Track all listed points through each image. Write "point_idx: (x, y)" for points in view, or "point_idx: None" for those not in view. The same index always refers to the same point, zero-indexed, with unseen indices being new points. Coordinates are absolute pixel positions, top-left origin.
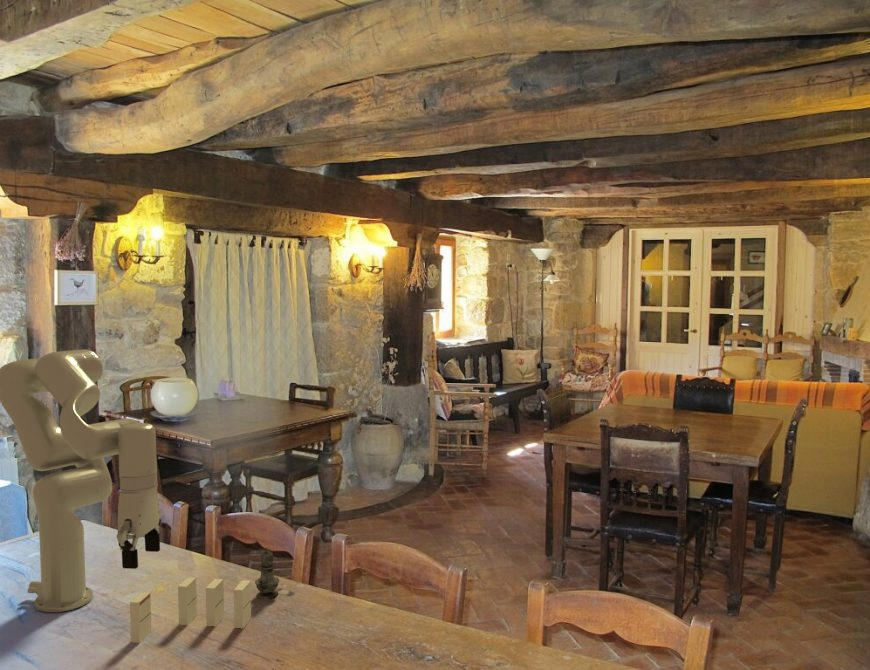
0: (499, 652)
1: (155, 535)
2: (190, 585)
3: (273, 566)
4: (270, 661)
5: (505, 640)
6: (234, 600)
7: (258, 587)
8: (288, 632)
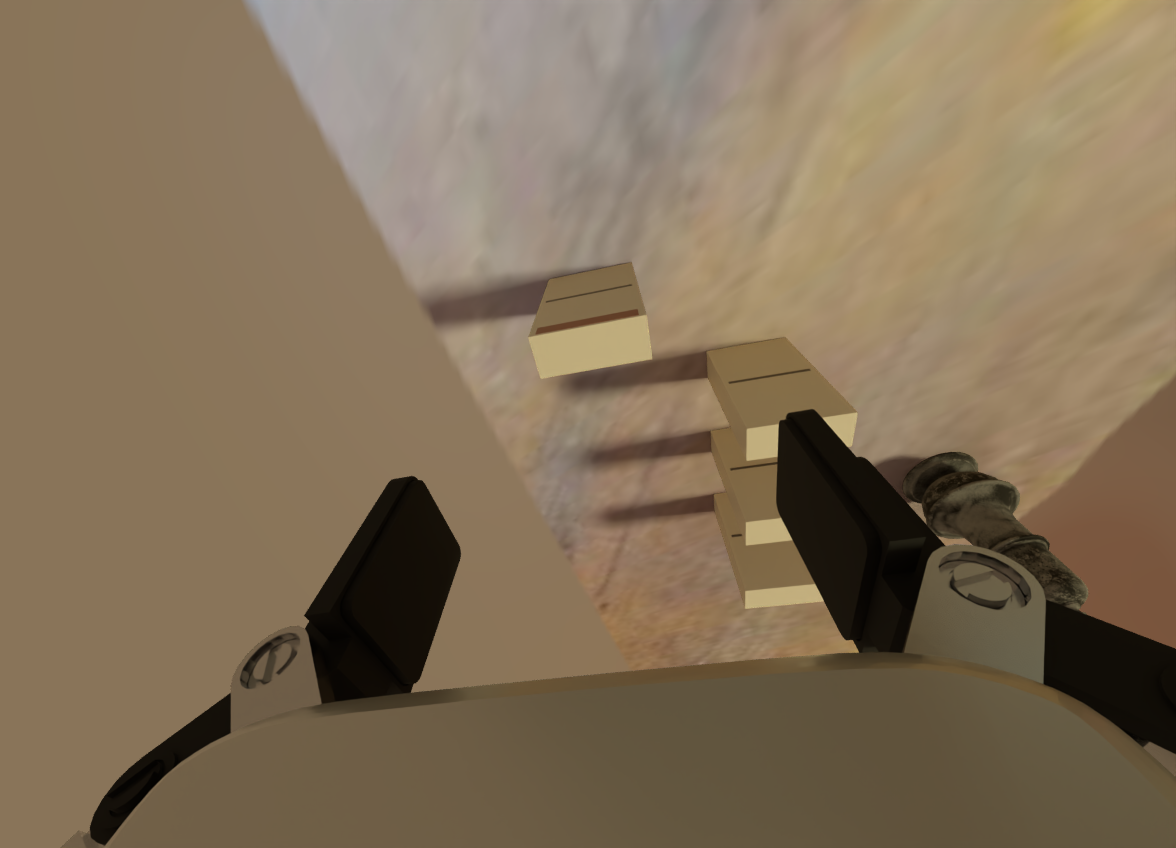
0: None
1: (847, 627)
2: None
3: None
4: (594, 598)
5: None
6: (734, 560)
7: (937, 493)
8: (716, 585)
